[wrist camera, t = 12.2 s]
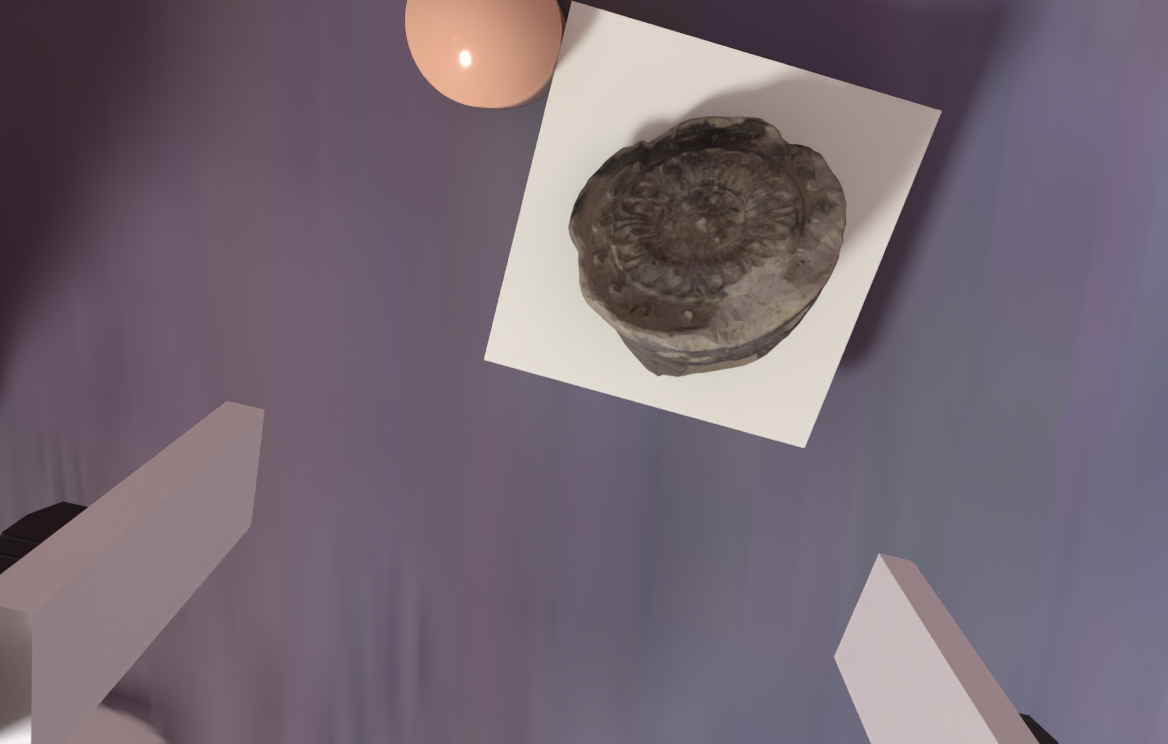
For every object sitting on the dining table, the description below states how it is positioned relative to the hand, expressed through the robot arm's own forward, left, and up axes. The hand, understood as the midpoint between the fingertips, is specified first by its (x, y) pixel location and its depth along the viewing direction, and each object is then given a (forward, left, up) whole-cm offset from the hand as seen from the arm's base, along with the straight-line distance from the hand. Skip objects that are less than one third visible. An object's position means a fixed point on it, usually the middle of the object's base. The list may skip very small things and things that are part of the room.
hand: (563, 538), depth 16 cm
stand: (+4, +4, -24) cm, 25 cm away
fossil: (+3, +5, -20) cm, 21 cm away
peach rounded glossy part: (-7, +10, -24) cm, 27 cm away
